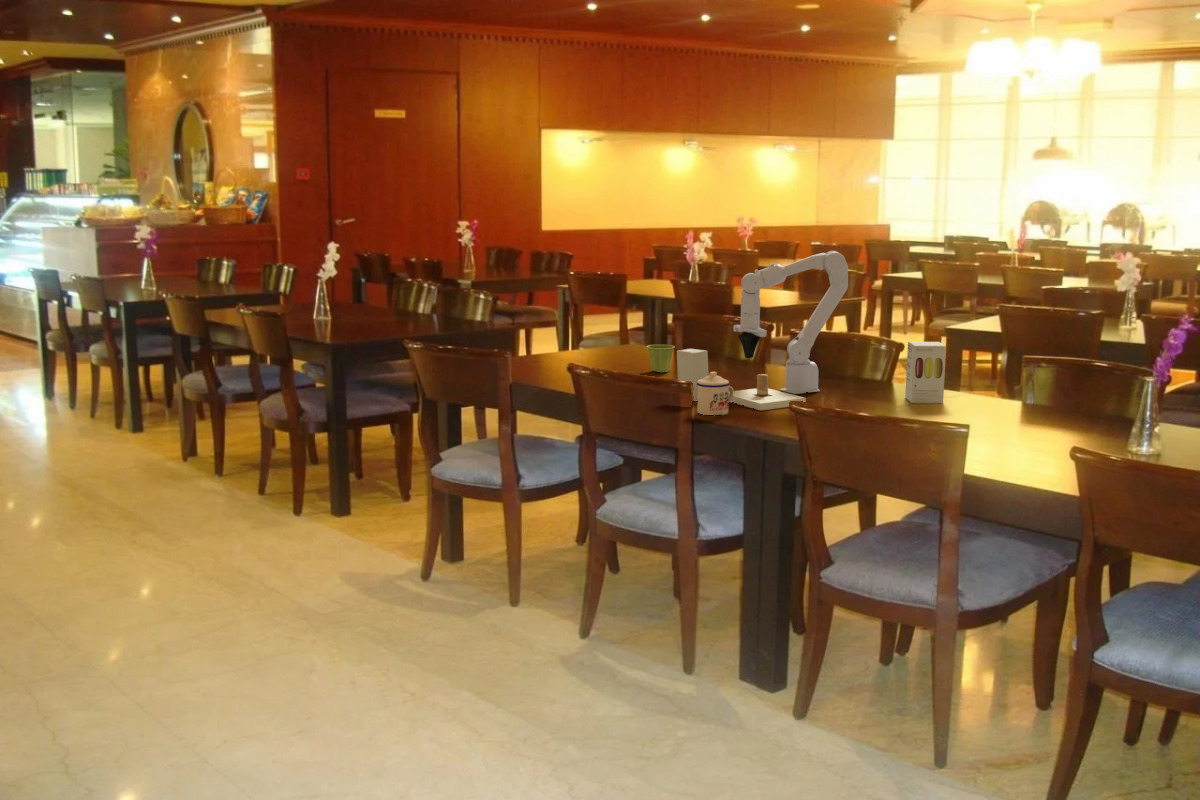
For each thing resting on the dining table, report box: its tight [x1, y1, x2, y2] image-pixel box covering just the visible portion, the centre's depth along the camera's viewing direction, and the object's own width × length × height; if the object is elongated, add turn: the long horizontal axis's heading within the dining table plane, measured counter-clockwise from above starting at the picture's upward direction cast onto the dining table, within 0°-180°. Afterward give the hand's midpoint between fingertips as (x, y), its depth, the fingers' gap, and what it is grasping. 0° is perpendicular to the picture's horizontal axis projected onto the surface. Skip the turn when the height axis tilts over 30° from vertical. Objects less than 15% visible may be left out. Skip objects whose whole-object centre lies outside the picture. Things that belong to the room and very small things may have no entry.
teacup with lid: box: [697, 371, 735, 417], centre depth 337 cm, size 12×9×12 cm
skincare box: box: [676, 348, 710, 401], centre depth 356 cm, size 8×6×15 cm
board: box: [729, 387, 807, 411], centre depth 352 cm, size 16×20×2 cm
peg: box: [756, 373, 769, 397], centre depth 351 cm, size 3×3×8 cm
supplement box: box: [904, 341, 947, 404], centre depth 350 cm, size 10×9×17 cm
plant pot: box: [646, 344, 676, 373], centre depth 406 cm, size 9×9×9 cm
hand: (749, 357), depth 367 cm, fingers closed
